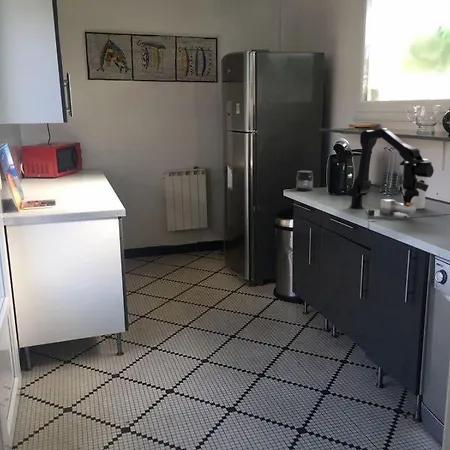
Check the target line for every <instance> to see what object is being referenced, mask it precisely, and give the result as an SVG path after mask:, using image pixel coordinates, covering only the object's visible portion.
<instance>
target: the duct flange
mask: <svg viewBox="0 0 450 450" xmlns="http://www.w3.org/2000/svg"><path fill="white" fill-rule="evenodd" d="M365 212H366V214H367V216H368V219H380V218H382V219H384V220H386V219H387V220H407V219H409V220H410V216H409V214H403V213H396V212H395V214H382V213H380V209H370V208H368V209H365Z"/></svg>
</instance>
